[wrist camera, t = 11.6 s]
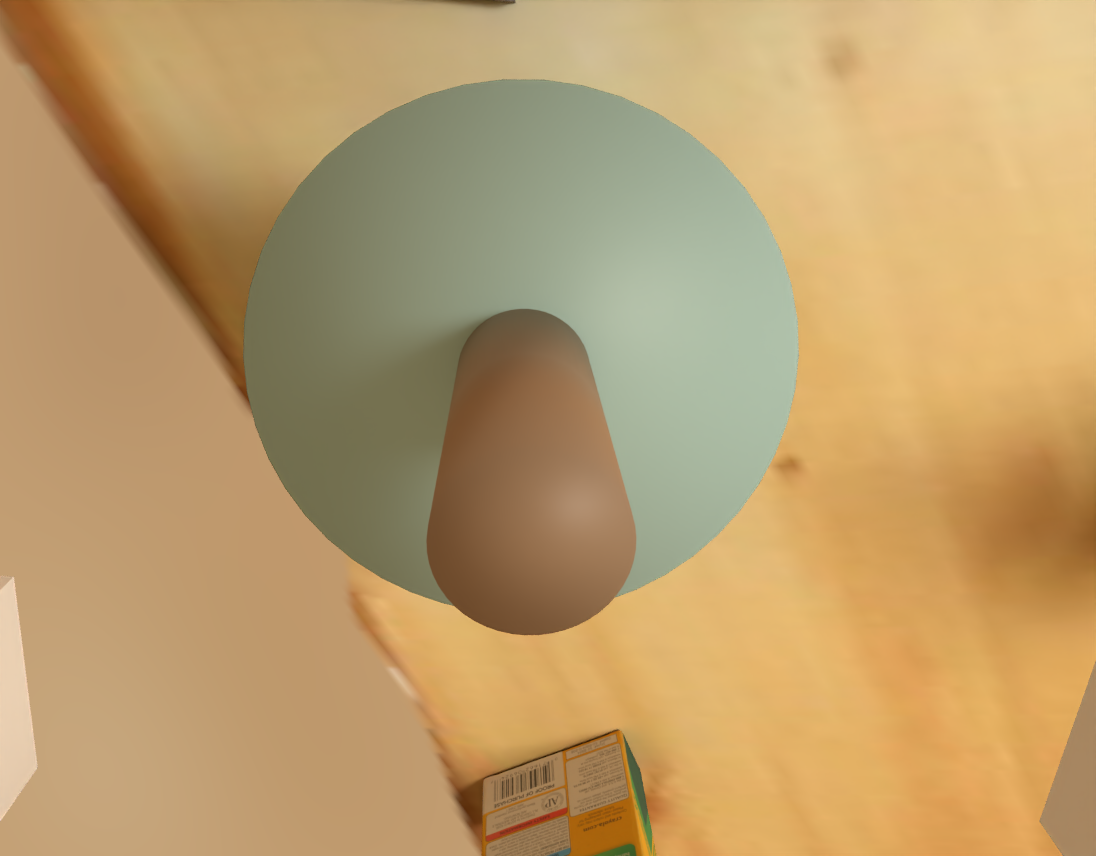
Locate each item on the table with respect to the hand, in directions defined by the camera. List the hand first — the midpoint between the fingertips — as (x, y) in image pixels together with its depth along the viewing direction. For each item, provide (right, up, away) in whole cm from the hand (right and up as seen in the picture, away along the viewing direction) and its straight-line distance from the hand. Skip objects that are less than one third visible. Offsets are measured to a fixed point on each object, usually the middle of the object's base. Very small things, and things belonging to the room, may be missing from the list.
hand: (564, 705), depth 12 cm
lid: (-1, +5, +15) cm, 16 cm away
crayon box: (0, -13, +34) cm, 37 cm away
